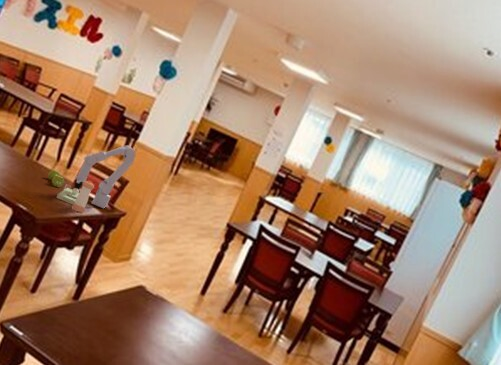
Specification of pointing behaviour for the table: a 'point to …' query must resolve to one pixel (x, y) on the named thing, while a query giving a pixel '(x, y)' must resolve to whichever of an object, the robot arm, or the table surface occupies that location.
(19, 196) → the table surface
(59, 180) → the dumbbell
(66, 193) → the pale green box
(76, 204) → the pepper shaker
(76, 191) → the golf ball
